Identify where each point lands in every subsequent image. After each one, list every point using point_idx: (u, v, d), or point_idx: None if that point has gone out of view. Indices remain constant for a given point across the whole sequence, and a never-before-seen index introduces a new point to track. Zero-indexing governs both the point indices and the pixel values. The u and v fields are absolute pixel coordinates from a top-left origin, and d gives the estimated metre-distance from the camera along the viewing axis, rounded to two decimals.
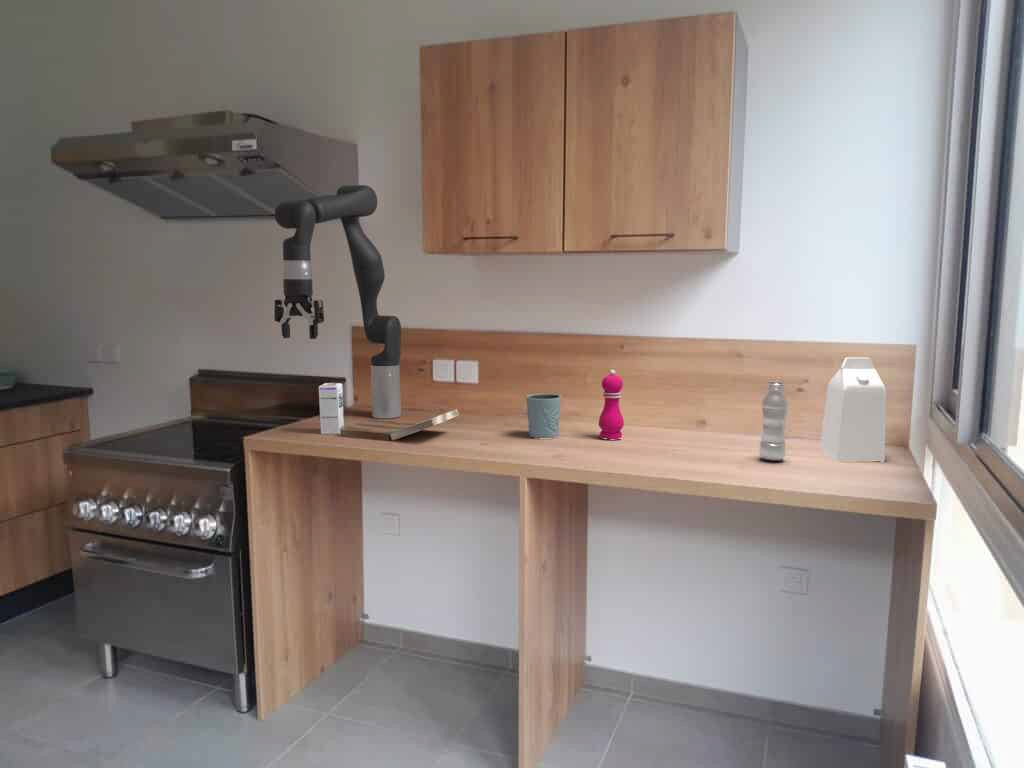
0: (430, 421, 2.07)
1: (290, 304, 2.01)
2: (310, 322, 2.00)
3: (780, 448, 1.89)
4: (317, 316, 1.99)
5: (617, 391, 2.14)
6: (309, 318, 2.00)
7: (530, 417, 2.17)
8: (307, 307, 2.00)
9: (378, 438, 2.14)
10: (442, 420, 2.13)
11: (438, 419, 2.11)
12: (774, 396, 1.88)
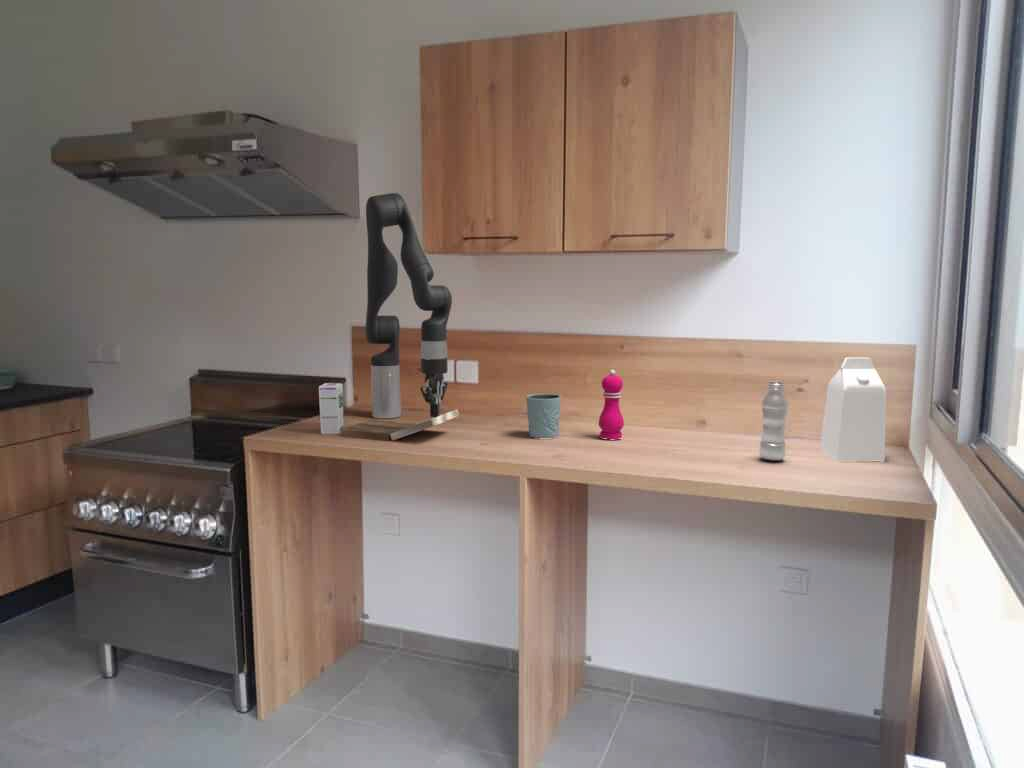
0: (430, 421, 2.07)
1: (438, 382, 2.12)
2: (439, 401, 2.15)
3: (780, 448, 1.89)
4: (443, 395, 2.18)
5: (617, 391, 2.14)
6: (440, 397, 2.15)
7: (530, 417, 2.17)
8: None
9: (378, 438, 2.14)
10: (442, 420, 2.13)
11: (438, 420, 2.11)
12: (773, 396, 1.88)
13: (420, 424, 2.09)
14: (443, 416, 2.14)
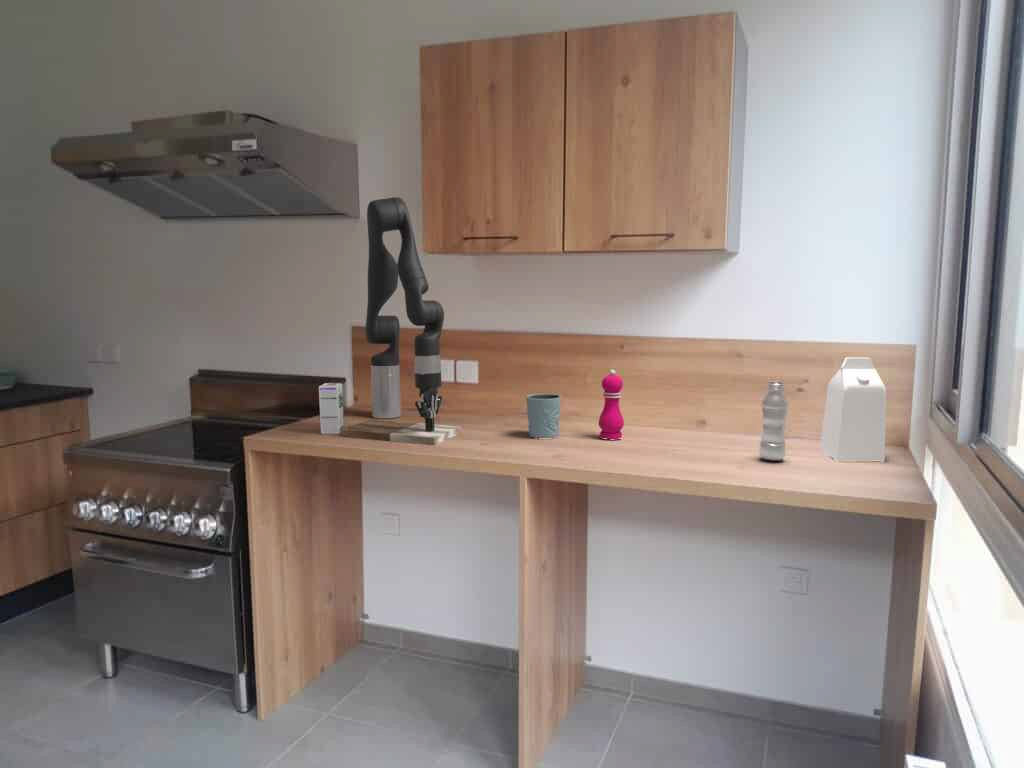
0: (433, 440, 2.08)
1: (432, 396, 2.14)
2: (434, 415, 2.16)
3: (780, 448, 1.89)
4: (438, 409, 2.19)
5: (617, 391, 2.14)
6: (434, 411, 2.17)
7: (530, 417, 2.17)
8: None
9: (378, 438, 2.14)
10: (444, 439, 2.13)
11: (440, 438, 2.11)
12: (774, 396, 1.88)
13: (422, 438, 2.09)
14: (446, 434, 2.15)
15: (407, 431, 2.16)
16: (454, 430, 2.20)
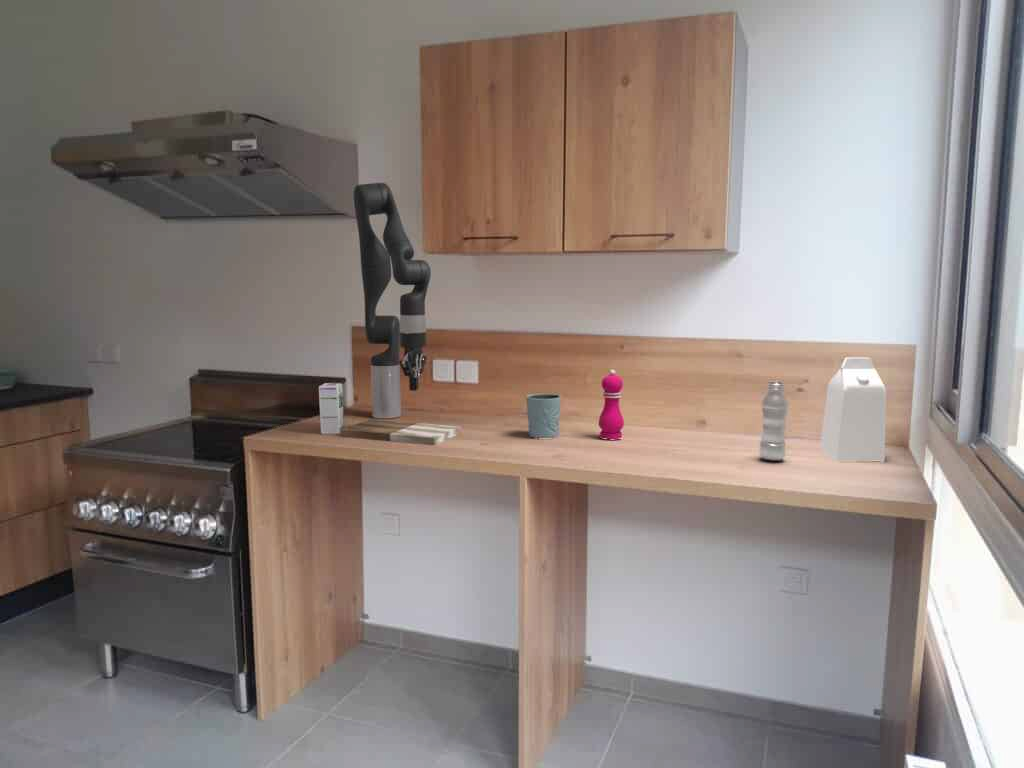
0: (433, 440, 2.08)
1: (417, 355, 2.15)
2: (418, 374, 2.18)
3: (780, 448, 1.89)
4: (422, 369, 2.21)
5: (617, 391, 2.14)
6: (419, 370, 2.18)
7: (530, 417, 2.17)
8: None
9: (378, 438, 2.14)
10: (444, 439, 2.13)
11: (440, 438, 2.11)
12: (773, 396, 1.88)
13: (422, 438, 2.09)
14: (446, 434, 2.15)
15: (407, 431, 2.16)
16: (454, 430, 2.20)
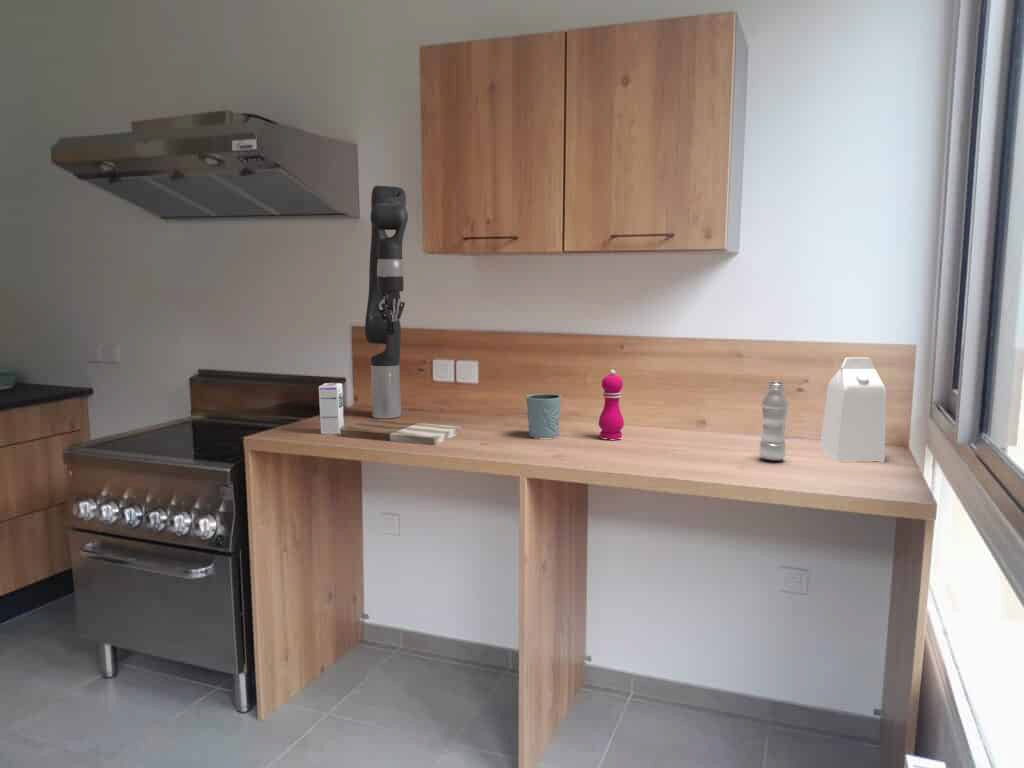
0: (433, 440, 2.08)
1: (394, 299, 2.18)
2: (396, 319, 2.21)
3: (780, 448, 1.89)
4: (400, 314, 2.24)
5: (617, 391, 2.14)
6: (396, 315, 2.22)
7: (530, 417, 2.17)
8: None
9: (378, 438, 2.14)
10: (444, 439, 2.13)
11: (440, 438, 2.11)
12: (774, 396, 1.88)
13: (422, 438, 2.09)
14: (446, 434, 2.15)
15: (407, 431, 2.16)
16: (454, 430, 2.20)
